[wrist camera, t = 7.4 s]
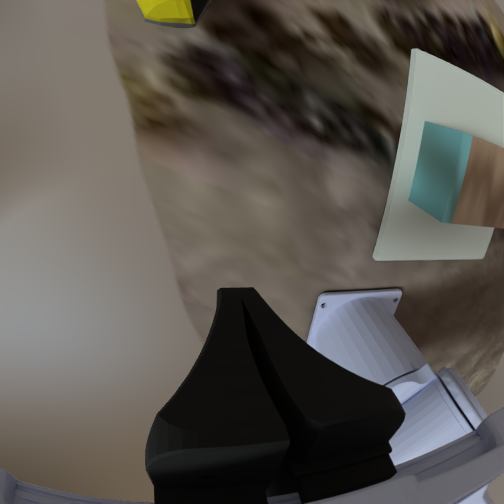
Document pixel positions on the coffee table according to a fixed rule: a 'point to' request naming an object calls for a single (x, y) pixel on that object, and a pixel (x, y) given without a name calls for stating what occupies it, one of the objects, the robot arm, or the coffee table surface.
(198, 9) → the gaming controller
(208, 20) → the coffee table surface
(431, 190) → the walnut block
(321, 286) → the coffee table surface
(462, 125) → the sage mat
